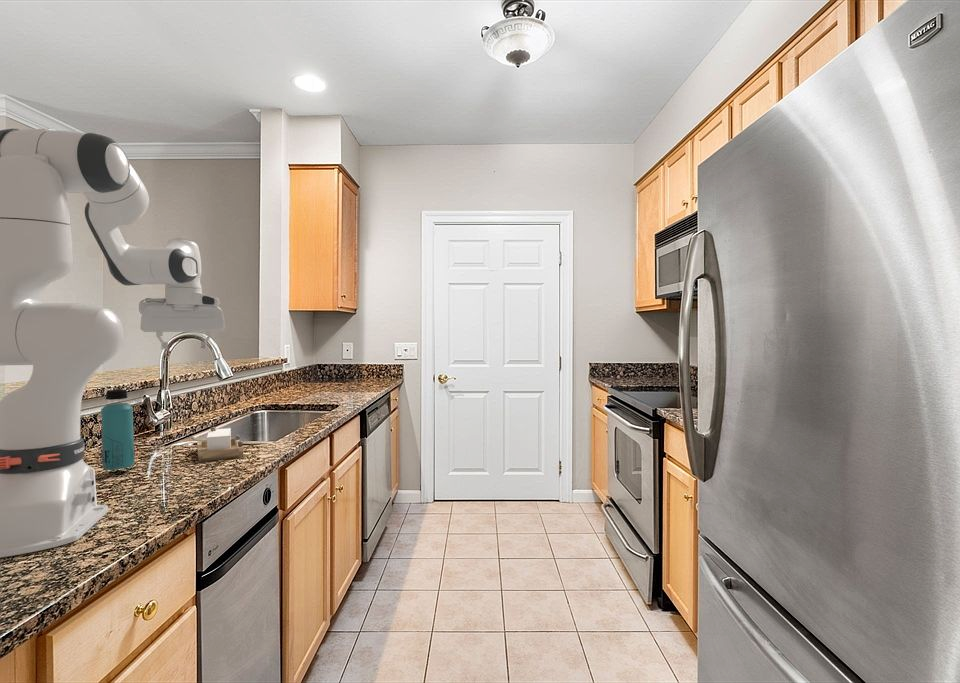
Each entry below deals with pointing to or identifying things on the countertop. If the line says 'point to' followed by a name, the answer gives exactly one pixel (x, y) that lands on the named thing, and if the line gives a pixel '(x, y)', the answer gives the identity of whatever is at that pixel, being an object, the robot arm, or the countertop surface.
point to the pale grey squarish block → (218, 439)
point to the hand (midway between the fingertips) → (184, 348)
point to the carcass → (220, 451)
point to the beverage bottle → (117, 432)
